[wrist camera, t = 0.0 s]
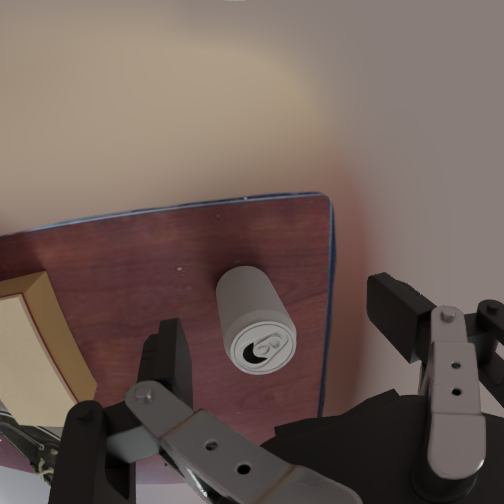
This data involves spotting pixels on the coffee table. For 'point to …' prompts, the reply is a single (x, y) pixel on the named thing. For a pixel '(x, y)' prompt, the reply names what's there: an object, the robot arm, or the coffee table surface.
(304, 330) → the coffee table surface
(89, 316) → the coffee table surface
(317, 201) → the coffee table surface
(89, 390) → the lidded cardboard box
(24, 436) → the boat shoe
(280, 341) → the beverage can
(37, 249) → the coffee table surface
